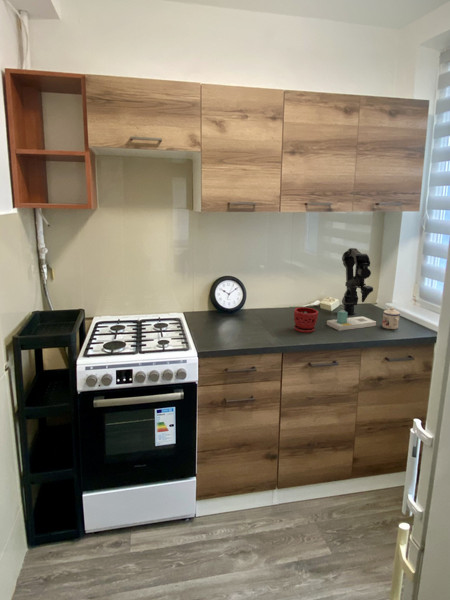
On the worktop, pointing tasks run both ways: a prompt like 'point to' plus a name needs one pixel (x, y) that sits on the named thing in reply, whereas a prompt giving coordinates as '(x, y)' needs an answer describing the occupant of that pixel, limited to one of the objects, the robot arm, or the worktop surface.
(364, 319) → the panel
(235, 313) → the worktop surface
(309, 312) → the plant pot
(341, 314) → the plug
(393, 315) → the teacup with lid
